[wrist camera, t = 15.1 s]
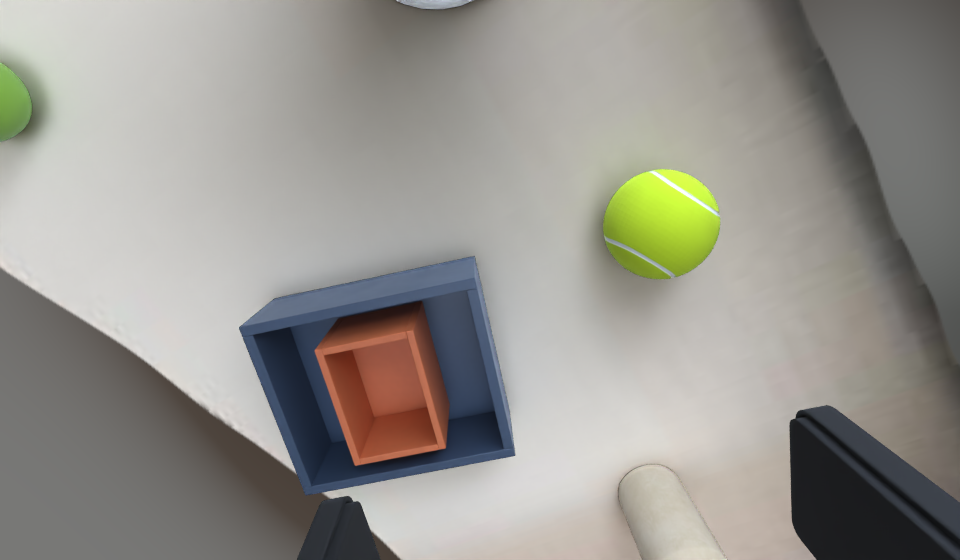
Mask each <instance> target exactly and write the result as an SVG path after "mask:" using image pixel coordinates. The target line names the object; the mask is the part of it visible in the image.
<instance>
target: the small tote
mask: <svg viewBox="0 0 960 560" xmlns="http://www.w3.org/2000/svg"><path fill="white" fill-rule="evenodd" d="M315 354H316V357H317V360H318V362H319V365H320V368H321V371H322V374H323V377H324V379H325V382H326V385H327V388H328V391H329V394H330V397H331V399H332V402H333V405H334V408H335V411H336V414H337V416H338V419H339V422H340V425H341V428H342V431H343V433H344V436H345V439H346V442H347V445H348V448H349V451H350V453H351V456H352V459H353V462H354V465H355V466H357V465H361V464H368V463H373V462H378V461H383V460H388V459H394V458H399V457H404V456H409V455H414V454H420V453H425V452H430V451H435V450H440V449H445V448H446V442H447V431H448V420H449V408H450V403H449V400H448V396H447V392H446V388H445V385H444V381H443V377H442V373H441V370H440V366H439V362H438V358H437V355H436V351H435V347H434V344H433V340H432V336H431V332H430V329H429V325H428V321H427V317H426V314H425V310H424V306H423V302H422V301H420V302H415V303H410V304H405V305H401V306H396V307H391V308H386V309H382V310H377V311H372V312H367V313H362V314H358V315H353V316H348V317H343V318H339V319H337V321H336V322H335V323H334V325H333V326H332V327H331V329H330V330H329V332H328V333H327V334H326V336H325V337H324V338H323V340H322V341H321V342H320V344H319V345H318V346H317V348H316V349H315Z"/></svg>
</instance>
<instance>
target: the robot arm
mask: <svg viewBox="0 0 960 560" xmlns="http://www.w3.org/2000/svg"><path fill="white" fill-rule="evenodd" d="M396 1H398V2H400V3H403V4H406V5H410V6H414V7H418V8H422V9H446V8H451V7H457V6H461V5H464V4H466V3H468V2H471V1H473V0H396ZM790 464H791V507H792V523H793V526H794V529H795V531H796V533H797V535H798V537H799V538H800V539H801V541H802V542H803V543H804V544H805V546H806V547H807V548H808V549H809V551H810V552H811V553H812V554H813V556H814V557H815V558H816V559H817V560H960V502H958V501H957V500H956V499H954V498H953V497H952V496H950V495H949V494H948V493H946V492H945V491H944V490H942V489H941V488H940V487H938V486H937V485H936V484H934V483H933V482H932V481H930V480H929V479H928V478H926V477H925V476H924V475H922V474H921V473H920V472H919V471H917V470H916V469H915V468H913V467H912V466H911V465H909V464H908V463H907V462H905V461H904V460H903V459H901V458H900V457H899V456H897V455H896V454H895V453H893V452H892V451H891V450H889V449H888V448H887V447H885V446H884V445H883V444H881V443H880V442H879V441H877V440H876V439H875V438H873V437H872V436H871V435H869V434H868V433H867V432H866V431H864V430H863V429H862V428H860V427H859V426H858V425H856V424H855V423H854V422H852V421H851V420H850V419H848V418H847V417H846V416H844V415H843V414H842V413H840V412H839V411H838V410H836V409H835V408H833V407H831V406H827V405H826V406H821V407H815V408H810V409H805V410H800V411H798V412H797V414H796V419H793V420H791V421H790ZM297 560H381V559H380V556H379V553H378V551H377V548H376V545H375V542H374V540H373V537H372V534H371V531H370V528H369V526H368V523H367V520H366V517H365V514H364V512H363V509H362V506H361V504H360V503H359V502H358V501H356V502H353V500H352V498H351V497H350V496H345V497H339V498H334V499H329V500H324V501H322V502H321V504H320V505H319V508H318V510H317V512H316V515H315V517H314V520H313V522H312V524H311V527H310V529H309V532H308V534H307V536H306V539H305V542H304V544H303V546H302V548H301V551H300V553H299V556H298V558H297Z"/></svg>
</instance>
